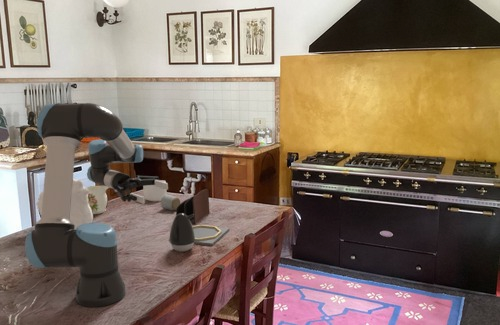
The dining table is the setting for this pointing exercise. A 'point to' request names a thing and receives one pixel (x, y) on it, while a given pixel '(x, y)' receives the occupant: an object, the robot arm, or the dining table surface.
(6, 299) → the dining table surface
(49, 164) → the robot arm
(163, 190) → the toilet tissue
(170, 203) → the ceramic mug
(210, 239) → the dock plate
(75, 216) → the decorative rooster
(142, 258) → the dining table surface
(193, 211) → the letter holder
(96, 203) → the pitcher
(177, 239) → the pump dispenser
